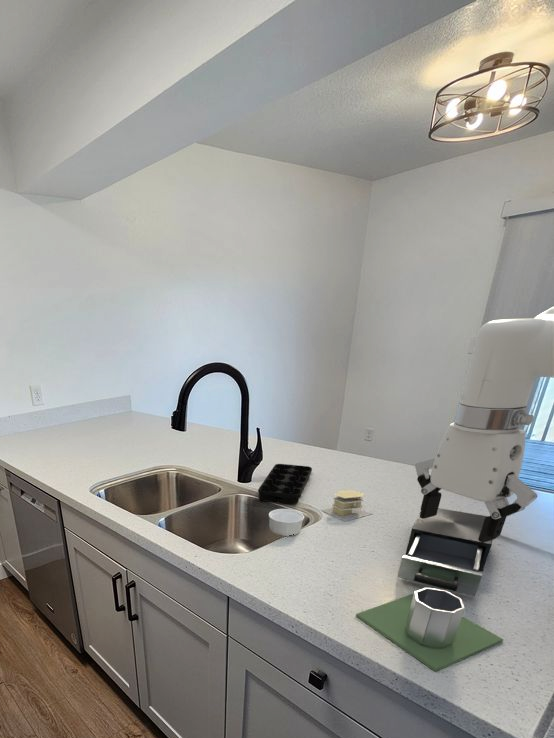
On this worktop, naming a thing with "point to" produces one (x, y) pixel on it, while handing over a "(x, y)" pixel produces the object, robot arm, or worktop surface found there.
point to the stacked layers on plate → (347, 505)
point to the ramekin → (285, 521)
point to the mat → (393, 627)
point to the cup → (434, 617)
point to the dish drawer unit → (453, 529)
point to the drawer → (443, 564)
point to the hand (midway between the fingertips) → (455, 527)
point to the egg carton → (284, 483)
